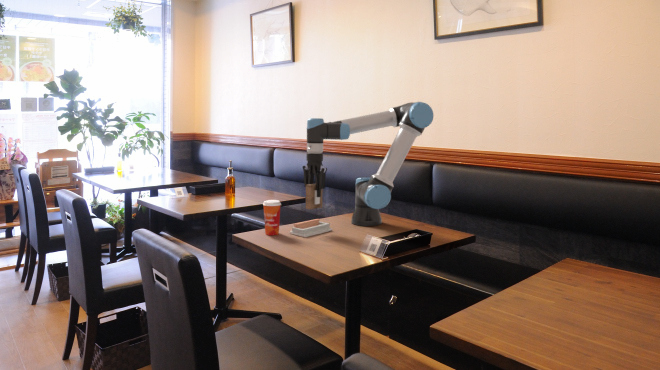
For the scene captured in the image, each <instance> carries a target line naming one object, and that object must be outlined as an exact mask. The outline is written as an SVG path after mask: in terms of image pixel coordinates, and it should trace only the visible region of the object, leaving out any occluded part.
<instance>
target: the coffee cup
mask: <svg viewBox="0 0 660 370" xmlns="http://www.w3.org/2000/svg"><path fill="white" fill-rule="evenodd" d="M262 205H263V217H264V218H263V221H264V233H265V235H266V236H277V235H279V233H280V220H281V206H282V203H281V201H280V200H278V199H267V200H264V201H263V203H262Z"/></svg>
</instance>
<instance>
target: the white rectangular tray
mask: <svg viewBox="0 0 660 370" xmlns="http://www.w3.org/2000/svg"><path fill="white" fill-rule="evenodd" d="M293 225H294V226H293V227H291V230H289V234H290V235H295V236H298V237H303V238H309V237H312V236H317V235H320V234H323V233H327V232H331V231H333V227H330V223H329V222H323V221H320V218H315V219H311V220H305V221H301V222H296V223H294V224H293Z"/></svg>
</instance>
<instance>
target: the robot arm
mask: <svg viewBox="0 0 660 370" xmlns="http://www.w3.org/2000/svg"><path fill="white" fill-rule="evenodd" d="M434 115H435V114H434V111H433V108H432V107H431V105H429V104H428V103H426V102H423V101H416V102H413V101H412V102H407V103H404V104H401V105H397V106H394V107H391V108H389V110H386V111H385V110H384V111H380V112H375V113H371V114H370V113H369V114H365V115H361V116H356V117H350V118H345V119H341V120H335V121H328V122H325V120H324V118H323V117H322V118H321V117H320V118H319V117H318V118H316V117H315V118H313V117H312V118H311V117H310V118H308V119H307V123H306V152H307V153H306V162H307V163H306V165H303V166H302V170H303V185H304V188H306V185H307V184H315V183H316V189H315V204H320V197H321V190H322V189H323V190H324V189H325V187H326V176H327V171H328V168H327V167H324V165H323V160H324V153H323V152H324V140H334V141H335V140H339V141H340V140H341V141H342V140H349V138H350V136H351V135H353V134H358V133H363V132H368V131H369V132H370V131H372V130H374V131H375V130H378V129H384V128H389V127H393V128H399V130H398V132H397V134H396V135H395V137H394V139H393V142H392V143H391V145H390V147H389V149H388V150H387V152H386V155H385V156H384V158H383V159H382V162H381V164H380V165H379V168H378V170H377V172H376V173H375V174H371V176H370V177H358V178H356V179H355V184H354V185H355V204H354V205H355V206H354V210H353V213H352V216H351V224H353V225H356V226H363V227H375V226H380V225H382V222H383V221H382V215H381V212H380V210H381V209H383V208H385V207H387V206H388V205H389V203H390V201H391V200H392V190H393V189H394V187H395V186H394V183H393V182H394V180H395V178H396V177H397V175H398V172H399V171H400V169H401V167H402V165H403V163H404V161H405V159H406V157H407V156H408V154H409V152H410V151H411V148H412V146H413V144H414V143H415V141H416V139H417V137H419V136H422V134H423V133H424V130H425V129H426V128H427V127H429V126H430V125H431V124H432V122H433V121H434ZM314 181H315V182H314Z"/></svg>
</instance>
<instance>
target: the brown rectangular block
mask: <svg viewBox="0 0 660 370" xmlns="http://www.w3.org/2000/svg"><path fill="white" fill-rule="evenodd" d="M315 189H316V183H315V182H314V183H313V184H307V185H306V187H305V209H306V210H314V209H321V208H323V192H324V189H322V190H321V197H320V204H315Z"/></svg>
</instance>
